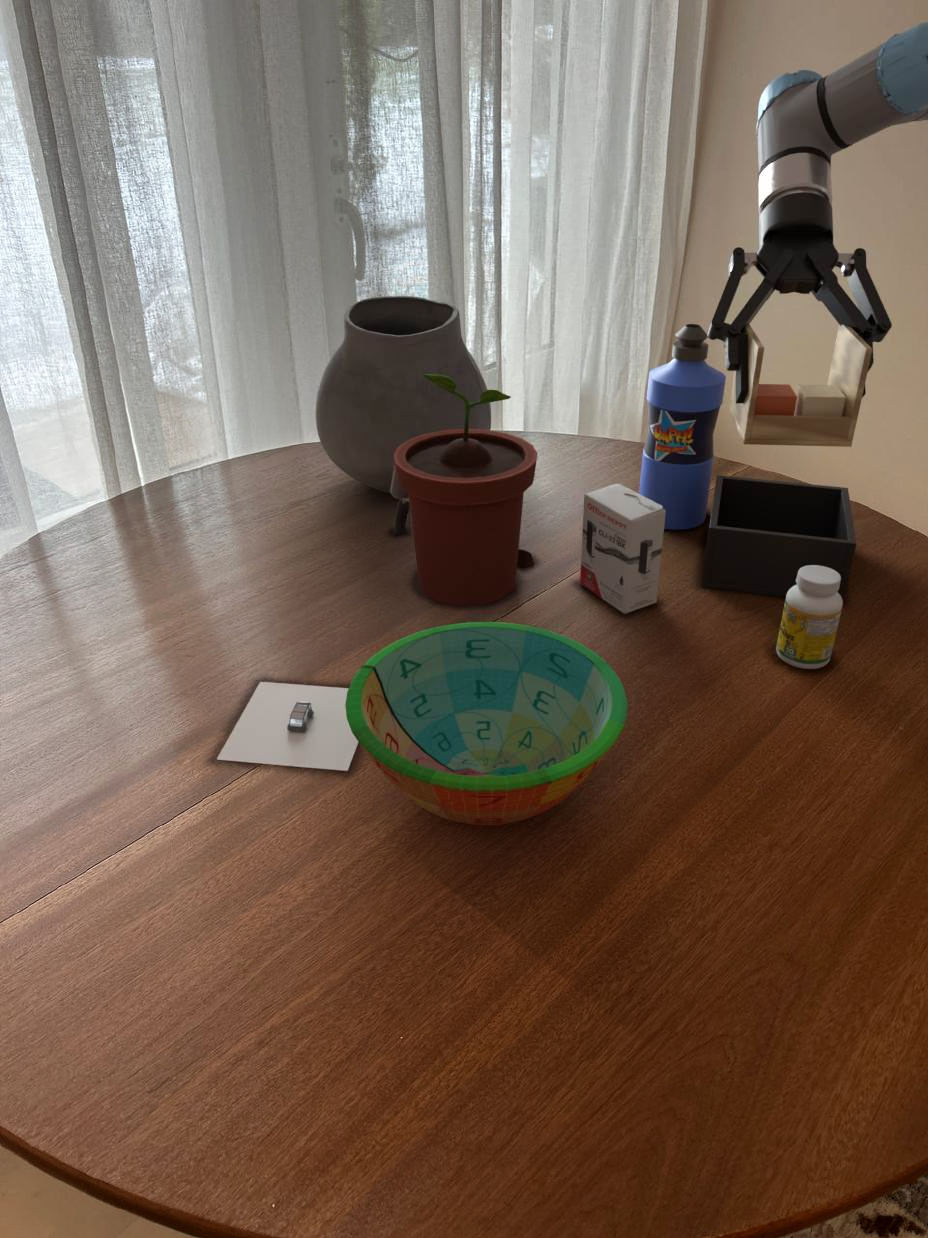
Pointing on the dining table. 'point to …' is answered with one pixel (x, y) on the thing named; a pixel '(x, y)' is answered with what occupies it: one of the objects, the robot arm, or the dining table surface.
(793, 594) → the supplement bottle
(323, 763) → the white square sheet
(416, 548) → the potted plant
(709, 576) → the basket
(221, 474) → the dining table surface
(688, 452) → the water bottle
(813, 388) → the cream block
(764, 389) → the terracotta block
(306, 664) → the dining table surface
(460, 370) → the ceramic pot
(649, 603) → the ink box
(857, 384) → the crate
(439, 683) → the bowl
